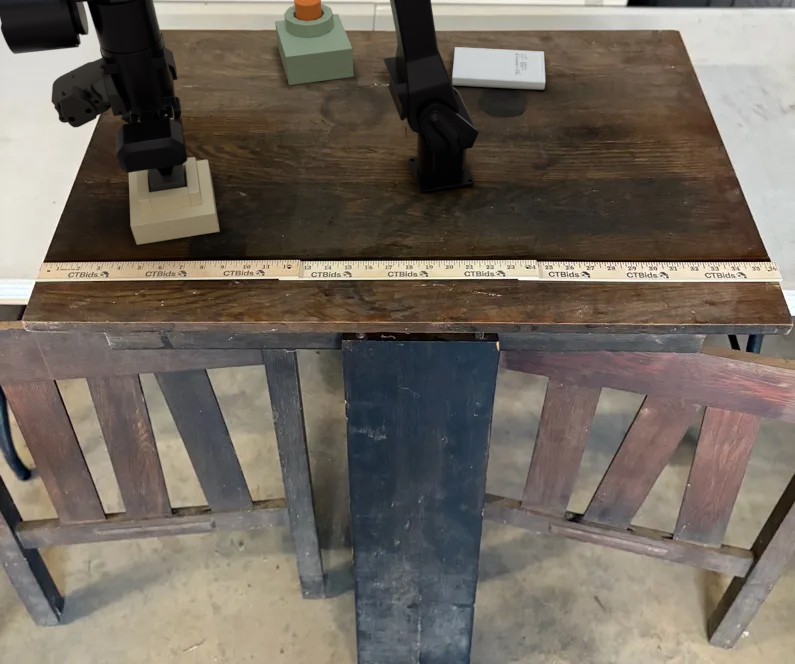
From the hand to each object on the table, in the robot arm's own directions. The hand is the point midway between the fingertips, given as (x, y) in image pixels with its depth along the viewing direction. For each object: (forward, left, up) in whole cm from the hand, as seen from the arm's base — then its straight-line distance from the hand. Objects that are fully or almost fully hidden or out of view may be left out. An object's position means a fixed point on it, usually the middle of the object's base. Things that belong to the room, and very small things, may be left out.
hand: (166, 173), depth 87 cm
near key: (0, 0, -2) cm, 2 cm away
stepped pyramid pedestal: (0, 0, -5) cm, 5 cm away
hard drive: (+19, -45, -5) cm, 49 cm away
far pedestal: (+28, -21, -5) cm, 35 cm away
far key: (+31, -21, +1) cm, 37 cm away
